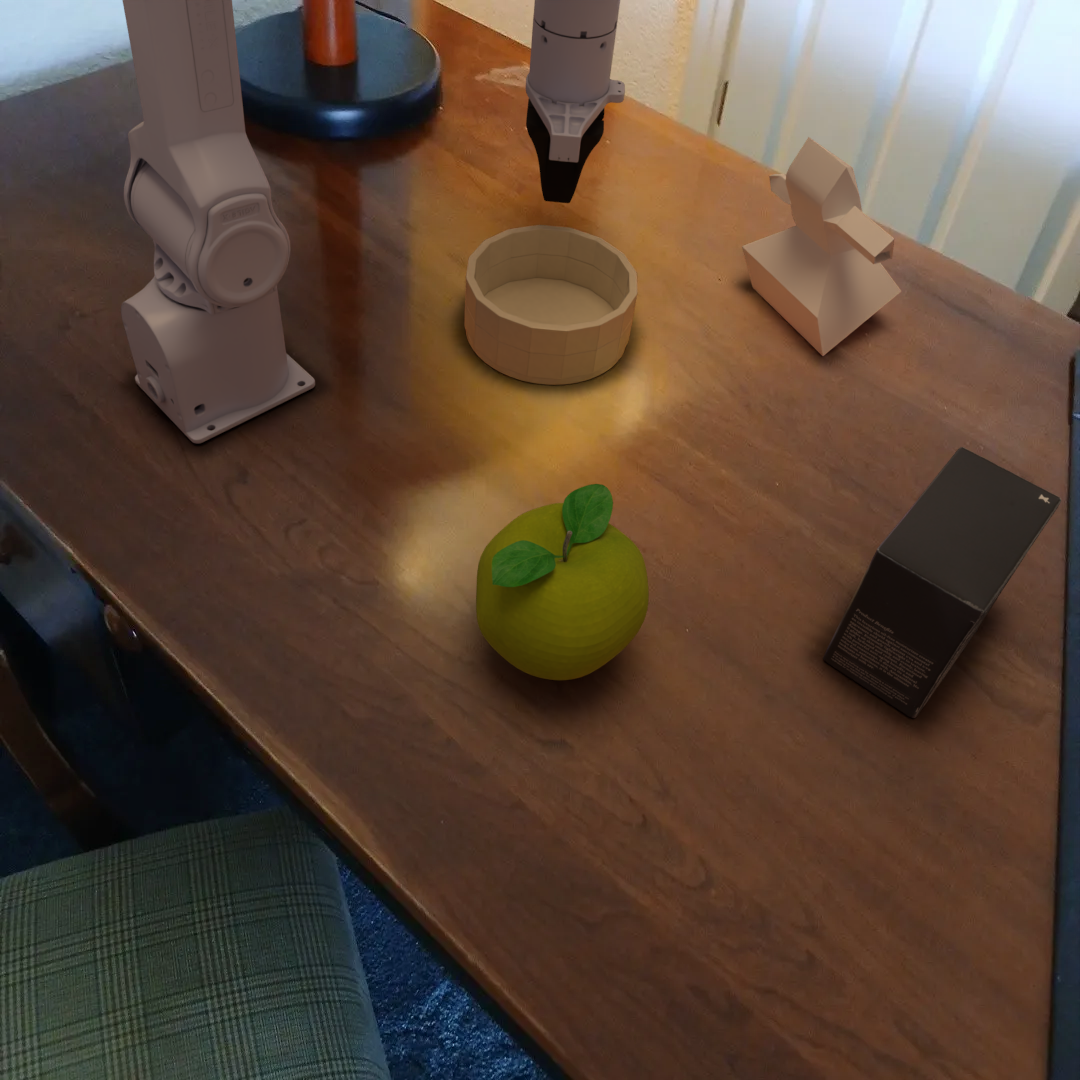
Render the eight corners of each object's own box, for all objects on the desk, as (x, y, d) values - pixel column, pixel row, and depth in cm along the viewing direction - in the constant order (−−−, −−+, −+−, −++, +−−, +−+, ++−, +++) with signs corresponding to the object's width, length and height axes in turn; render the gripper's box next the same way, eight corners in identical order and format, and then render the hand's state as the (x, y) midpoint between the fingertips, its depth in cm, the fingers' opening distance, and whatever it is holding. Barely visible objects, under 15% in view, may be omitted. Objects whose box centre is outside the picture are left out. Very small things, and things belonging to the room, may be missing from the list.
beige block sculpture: (794, 242, 89) (843, 84, 78) (904, 341, 81) (974, 182, 71) (713, 265, 86) (752, 104, 75) (819, 370, 78) (879, 208, 68)
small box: (896, 555, 67) (959, 438, 59) (990, 611, 65) (1070, 497, 57) (814, 657, 61) (873, 543, 53) (914, 723, 59) (991, 614, 51)
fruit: (438, 642, 60) (439, 529, 52) (550, 556, 65) (566, 441, 57) (554, 746, 56) (573, 641, 49) (664, 647, 61) (697, 537, 53)
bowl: (541, 409, 73) (548, 353, 69) (431, 319, 78) (431, 263, 74) (660, 340, 79) (672, 285, 75) (550, 261, 84) (556, 206, 80)
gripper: (635, 76, 66) (608, 257, 77) (632, -21, 76) (608, 152, 86) (524, 66, 66) (512, 248, 77) (535, -31, 75) (523, 144, 86)
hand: (557, 197), depth 81 cm, fingers closed
